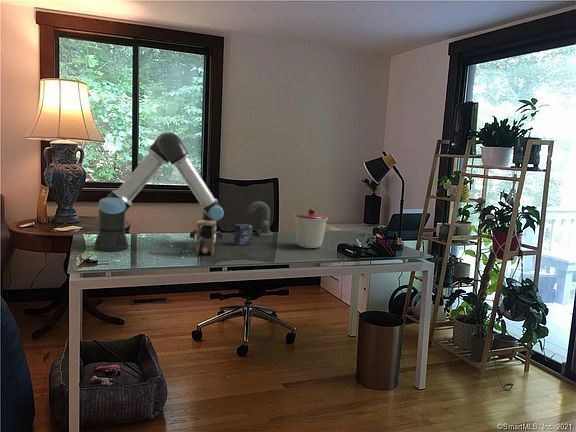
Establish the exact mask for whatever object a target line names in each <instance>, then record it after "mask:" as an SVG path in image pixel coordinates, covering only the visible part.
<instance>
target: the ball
mask: <svg viewBox="0 0 576 432" xmlns="http://www.w3.org/2000/svg"><path fill="white" fill-rule="evenodd" d="M209 251H210V249H209V247H208V246H202V248H201V253H202V254H205V255H206V254H208V253H209Z"/></svg>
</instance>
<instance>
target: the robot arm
mask: <svg viewBox="0 0 576 432" xmlns="http://www.w3.org/2000/svg"><path fill="white" fill-rule="evenodd" d="M189 154H190V153H189V152H188V151H187V149H186V147H185V146H184V143H183V141H182V140H181V138H180V137H179V135H178V134H176V133H173V132H164V133H160V134H159V135H158V136H157V137H156V139H155V141H154V142H153V143H152V144H151V145H150V147H148V154H147V155H146V156H145V157H144V158H143V159H142V161H141V162H140V163H139V164H138V165H137V166H136V167H135V169H134V170H133V171H132V172H131V173H130V174H129V176H128V177H127V178H126V179H125V180H124V182H123V183H121V185H120V186H119V187H118V189H115V190H111V192H110V193H109V194H108V195H107V196H106V197H103V198H101V199H99V203H98V233H97V236H96V238H95V241H94V250H96V251H101V252H121V251H126V250H128V249H129V241H128V238H127V235H126V213H127V212H128V210H129V209H130V208H131V207H132V205H133V203H132V201H133V200H134V198H135V197H136V196H137V195H138V194H140V192H141V191H142V189H143V188H144V187H145V186H146V184H147V183H149V181H150V180H151V179H152V178H153V176H154V175H155V174H156V173H157V172H158V170H160V169H161V168H162V166H163V165H167V164H169V163H170V164H171V165H172V166H175V168H176V170H177V171H178V173H179V174H180V175H181V177H182V179H183V180H184V182H185V183H186V185H187V186H188V188H189V189H190V191H191V192H192V194H193V195H194V196H195V199H196V200H197V201H198V203H199V204H200V206H201V207H202V219H201V220H212V221H216V224H215V234H214V243H216V241H217V240H223V233H222V231H221V230H219V231H217V229H218V225H217V223H218V221H220V220H222V219H223V218H224V215H225V213H224V209H223V208H222V206H220V204H219V201H218V199H217V198H215V197H214V195H213V193H212V192H211V190H210V189H209V187H208V185H207V184H206V182H205V181H204V179H203V178H202V176H201V175H200V173H199V172H198V170H197V168H196V167H195V165H194V164H193V163H192V161H191V159H190V158H189ZM189 238H190V239H193V241H194V242H196V239H197V229H193V231H190V232H189ZM200 238H203V239H205V240H212V225H201V226H200Z"/></svg>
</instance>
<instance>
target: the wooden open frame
mask: <svg viewBox="0 0 576 432" xmlns="http://www.w3.org/2000/svg"><path fill="white" fill-rule="evenodd" d="M215 224H216V221H212V220H202V219H198V220H197V221H196V230H197V239H196V241H195V256H199V254H200V247H201V246H200V245H201V244H200V242H201V237H200V230H201V226H202V225H212V238H211V243H210V245H211V247H210V256H211V257H214V254H215V242H214V234H215Z"/></svg>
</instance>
